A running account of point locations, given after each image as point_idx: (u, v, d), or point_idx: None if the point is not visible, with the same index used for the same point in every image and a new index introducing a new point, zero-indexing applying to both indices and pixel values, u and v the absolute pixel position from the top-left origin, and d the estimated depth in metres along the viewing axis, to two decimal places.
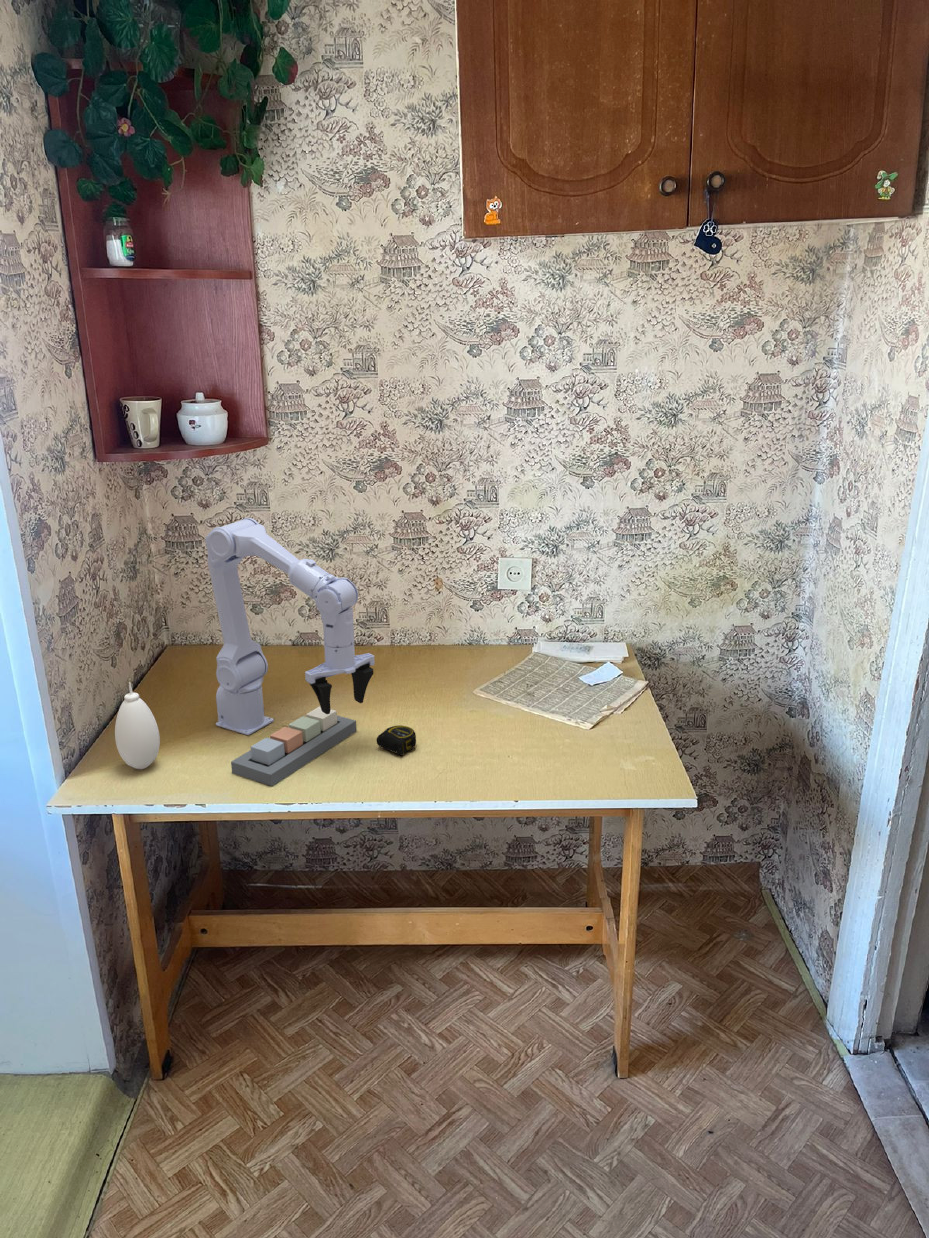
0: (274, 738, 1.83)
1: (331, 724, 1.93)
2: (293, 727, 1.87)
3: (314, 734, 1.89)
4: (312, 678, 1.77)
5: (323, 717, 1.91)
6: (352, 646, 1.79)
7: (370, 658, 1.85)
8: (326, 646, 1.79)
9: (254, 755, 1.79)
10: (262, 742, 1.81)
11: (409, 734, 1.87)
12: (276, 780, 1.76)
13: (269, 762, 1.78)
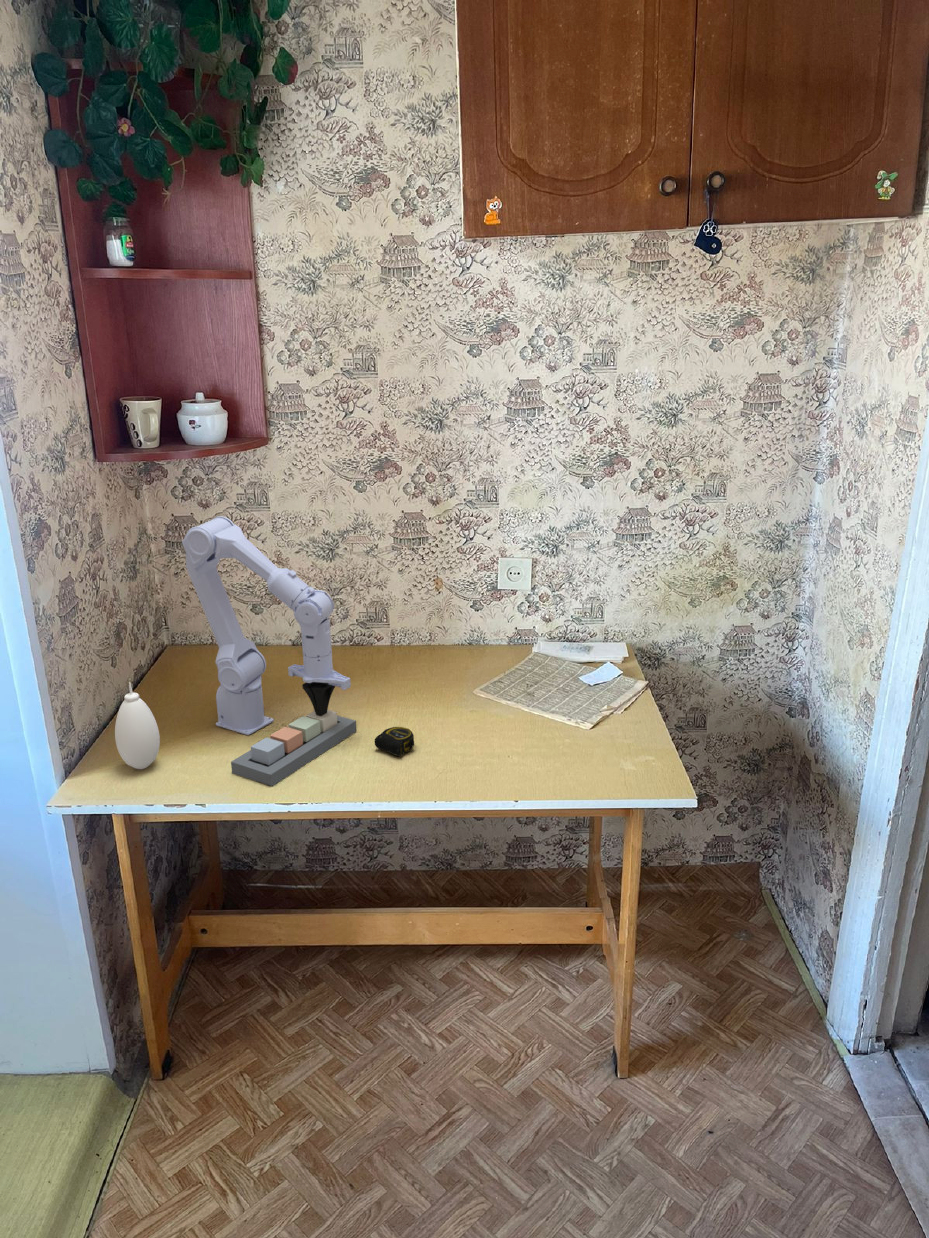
0: (274, 738, 1.83)
1: (331, 725, 1.93)
2: (293, 727, 1.87)
3: (314, 734, 1.89)
4: (289, 671, 1.93)
5: (323, 718, 1.91)
6: (314, 659, 1.86)
7: (340, 681, 1.86)
8: None
9: (254, 755, 1.79)
10: (262, 742, 1.81)
11: (407, 735, 1.87)
12: (276, 780, 1.76)
13: (269, 762, 1.78)
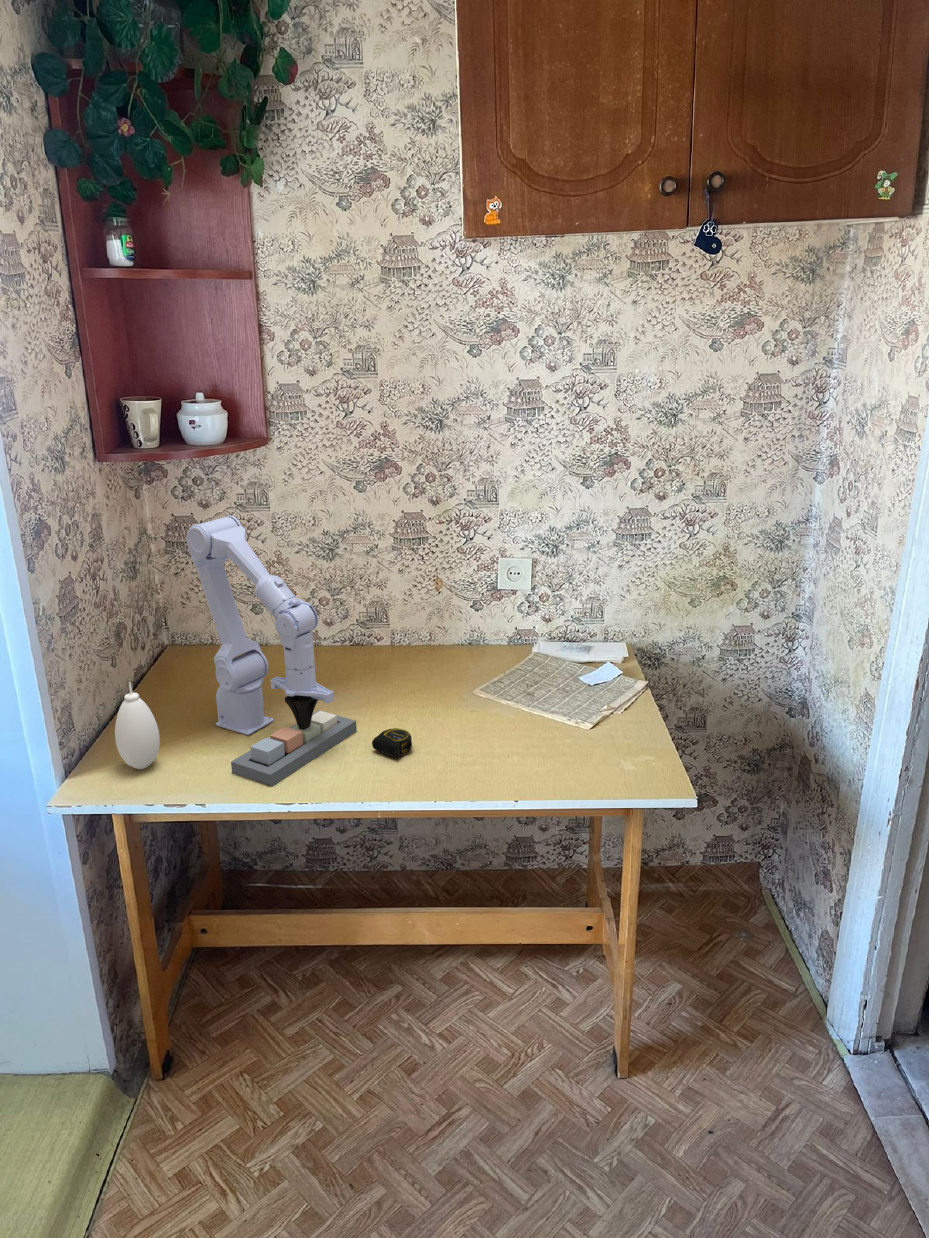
0: (274, 738, 1.83)
1: None
2: None
3: None
4: (272, 684, 1.89)
5: (324, 722, 1.91)
6: (297, 672, 1.82)
7: (322, 695, 1.82)
8: None
9: (254, 755, 1.79)
10: (262, 742, 1.81)
11: (405, 737, 1.86)
12: (276, 780, 1.76)
13: (269, 762, 1.78)
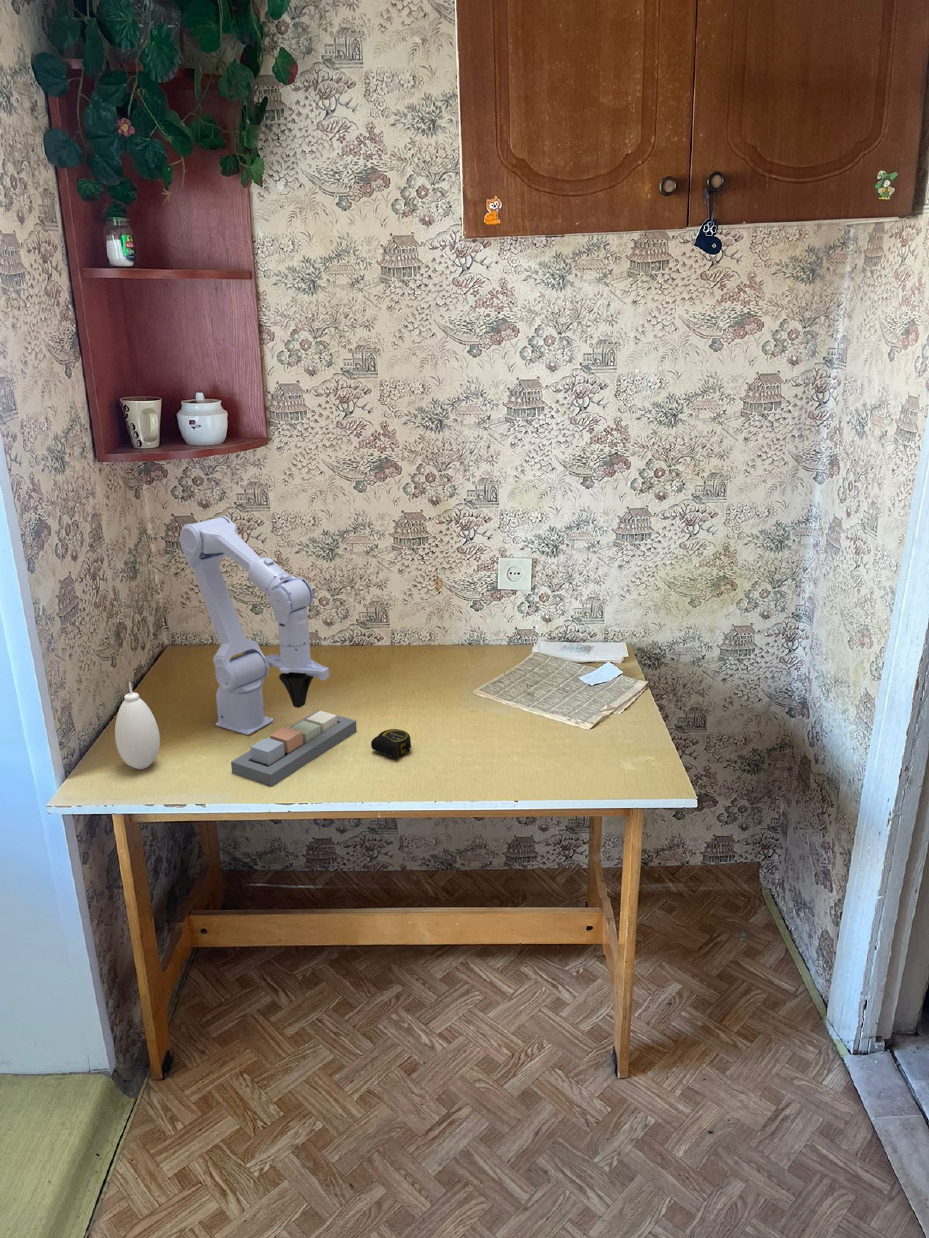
0: (274, 738, 1.83)
1: None
2: None
3: None
4: (266, 661, 1.86)
5: (324, 722, 1.91)
6: (291, 649, 1.79)
7: (318, 672, 1.79)
8: None
9: (254, 755, 1.79)
10: (262, 742, 1.81)
11: (404, 738, 1.86)
12: (276, 780, 1.76)
13: (269, 762, 1.78)
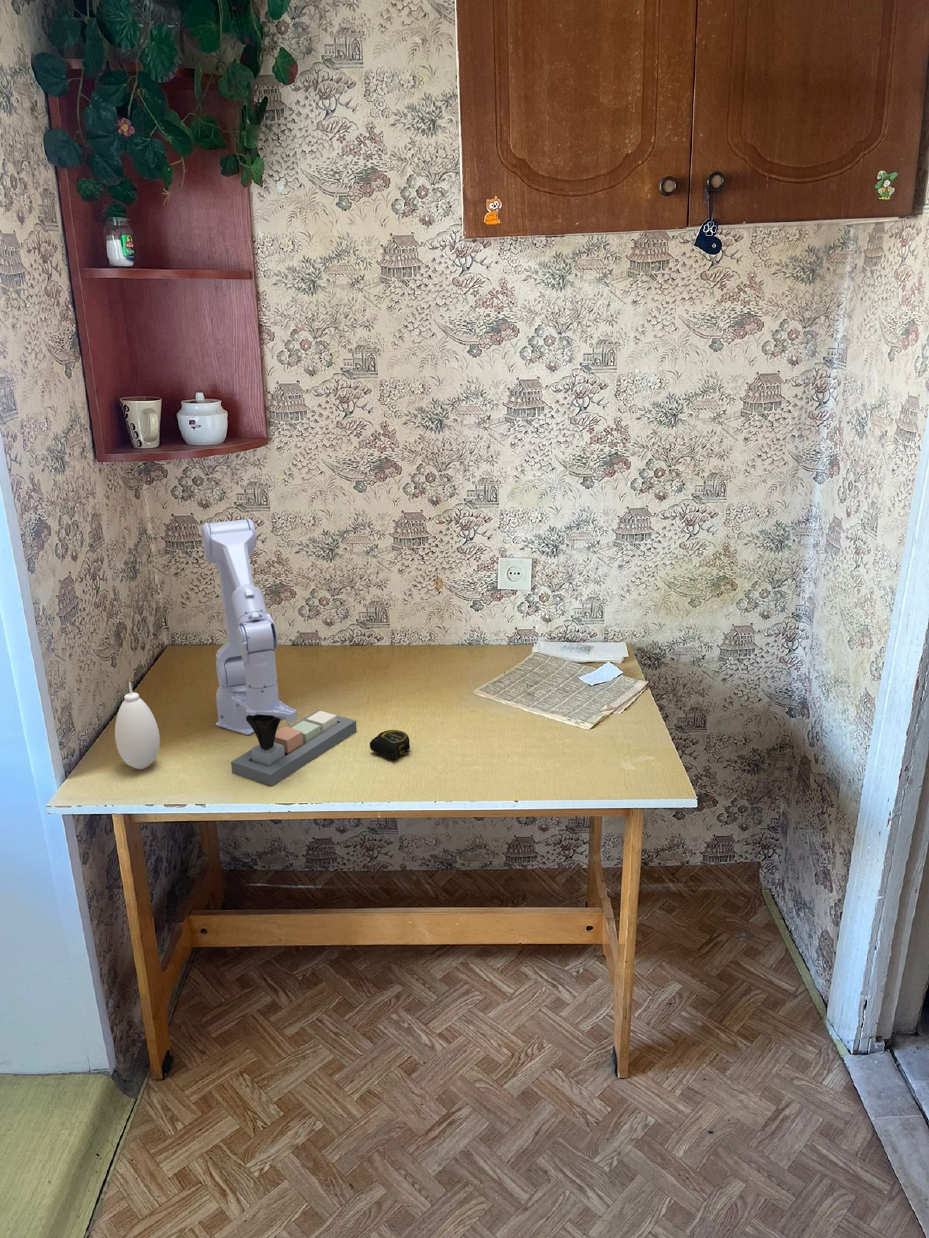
0: None
1: None
2: None
3: None
4: (233, 702, 1.80)
5: (324, 722, 1.91)
6: (258, 690, 1.73)
7: (285, 714, 1.73)
8: None
9: (254, 757, 1.80)
10: None
11: (403, 739, 1.85)
12: (276, 780, 1.76)
13: (269, 765, 1.78)
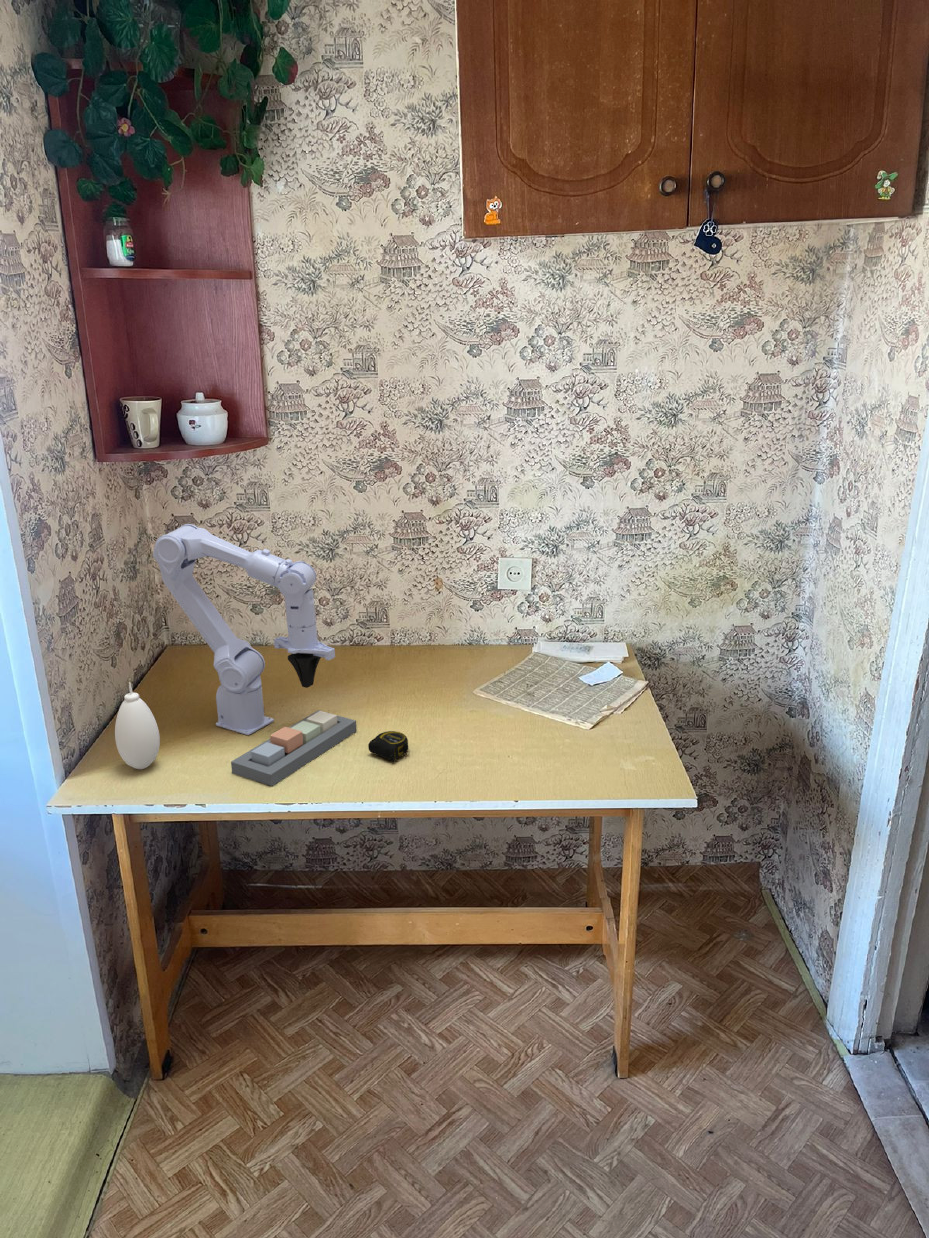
0: (274, 738, 1.83)
1: None
2: None
3: None
4: (275, 643, 1.93)
5: (324, 722, 1.91)
6: (298, 630, 1.86)
7: (324, 652, 1.86)
8: None
9: (254, 760, 1.80)
10: (262, 747, 1.81)
11: (401, 740, 1.85)
12: (276, 780, 1.76)
13: None
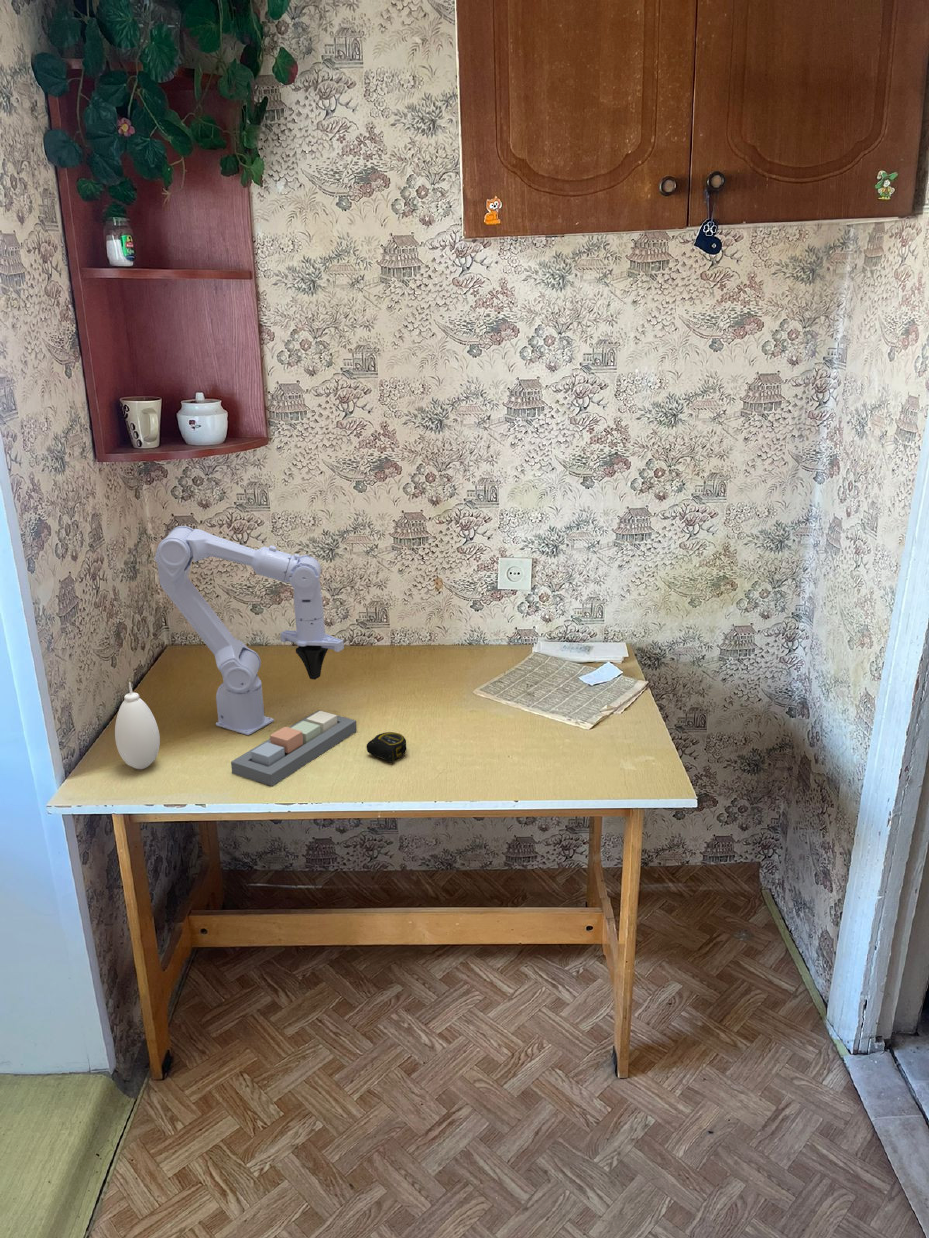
0: (274, 738, 1.83)
1: None
2: None
3: None
4: (282, 637, 1.96)
5: (324, 722, 1.91)
6: (308, 623, 1.90)
7: (333, 643, 1.90)
8: None
9: (254, 760, 1.80)
10: (262, 747, 1.81)
11: (399, 741, 1.84)
12: (276, 780, 1.76)
13: None
